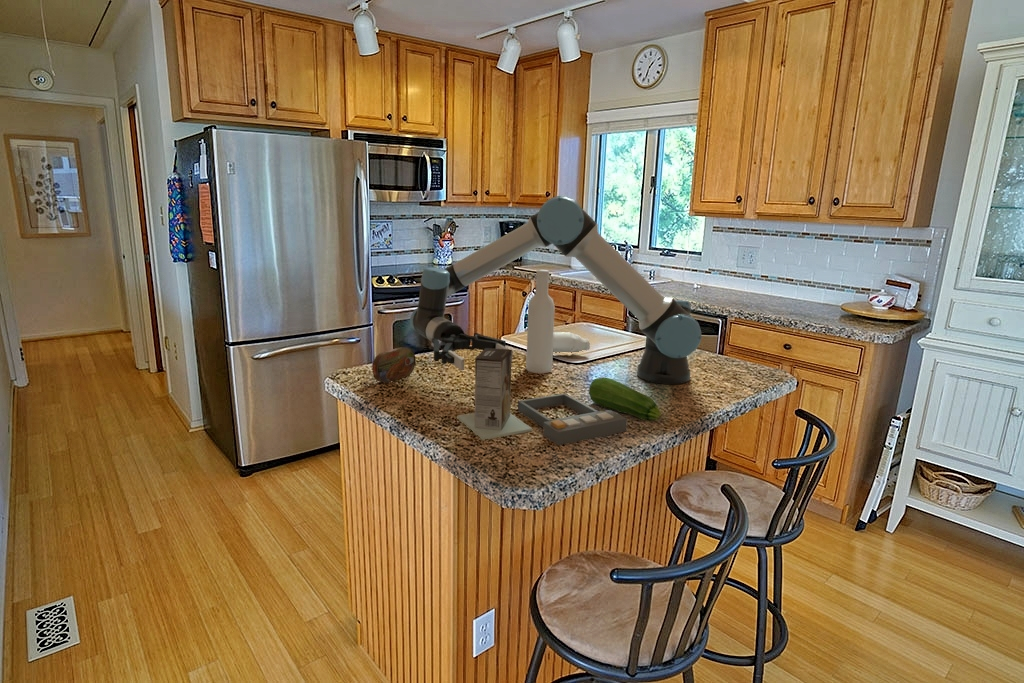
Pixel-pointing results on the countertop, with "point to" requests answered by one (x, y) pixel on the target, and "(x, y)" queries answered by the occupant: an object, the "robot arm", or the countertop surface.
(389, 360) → the tin
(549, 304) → the bottle
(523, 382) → the countertop surface
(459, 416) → the sage mat
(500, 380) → the coffee box
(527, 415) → the frame
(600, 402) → the vegetable
